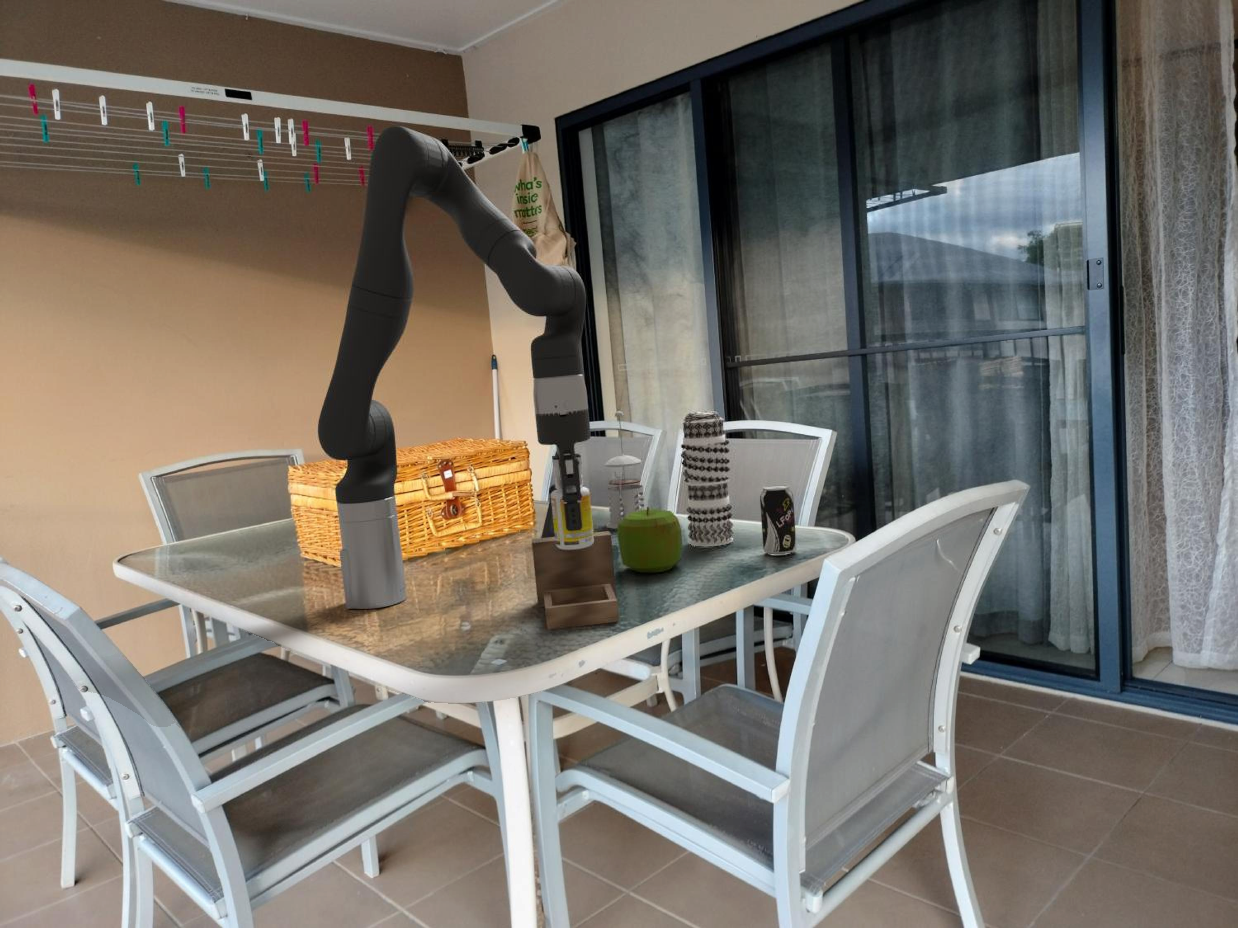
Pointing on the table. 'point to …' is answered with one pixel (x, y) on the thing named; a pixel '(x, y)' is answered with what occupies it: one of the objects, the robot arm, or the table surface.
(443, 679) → the table surface
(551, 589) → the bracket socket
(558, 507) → the supplement bottle
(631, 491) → the french press
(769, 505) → the beverage can
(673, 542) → the apple
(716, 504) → the decorative candle
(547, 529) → the phone stand
